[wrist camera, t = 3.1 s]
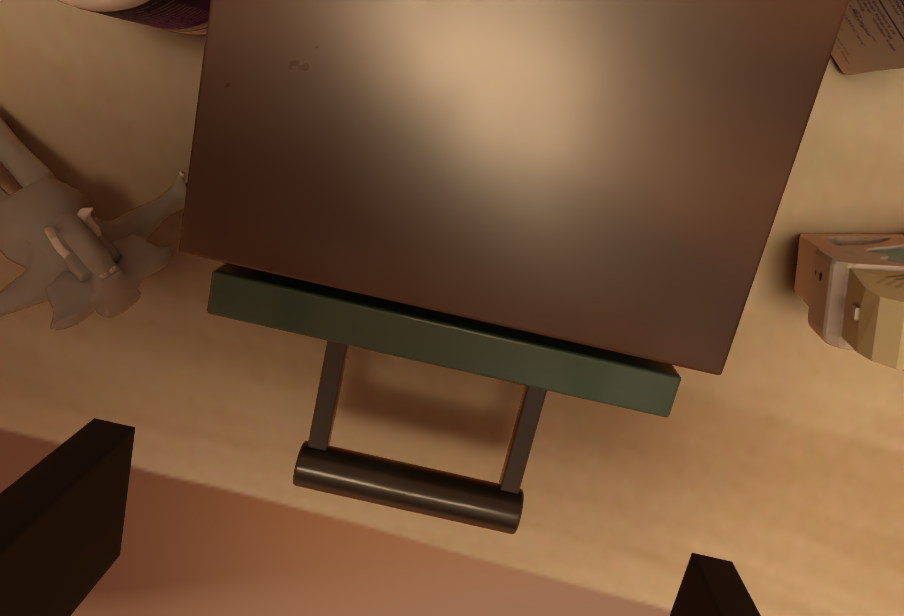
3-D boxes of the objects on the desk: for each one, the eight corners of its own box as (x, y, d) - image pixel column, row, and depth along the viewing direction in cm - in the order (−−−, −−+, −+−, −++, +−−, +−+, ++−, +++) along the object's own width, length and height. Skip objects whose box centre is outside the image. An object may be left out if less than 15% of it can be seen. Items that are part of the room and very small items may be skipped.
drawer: (580, 483, 28) (609, 601, 21) (251, 409, 28) (178, 505, 21) (759, -112, 22) (871, -200, 16) (352, -208, 22) (297, -338, 16)
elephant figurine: (73, 0, 25) (252, 169, 23) (110, 124, 30) (260, 270, 28) (-260, 143, 21) (-71, 369, 19) (-149, 260, 26) (8, 447, 24)
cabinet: (649, 292, 27) (721, 377, 18) (273, 205, 27) (177, 252, 18) (799, -200, 23) (980, -376, 14) (355, -307, 22) (278, -547, 14)
